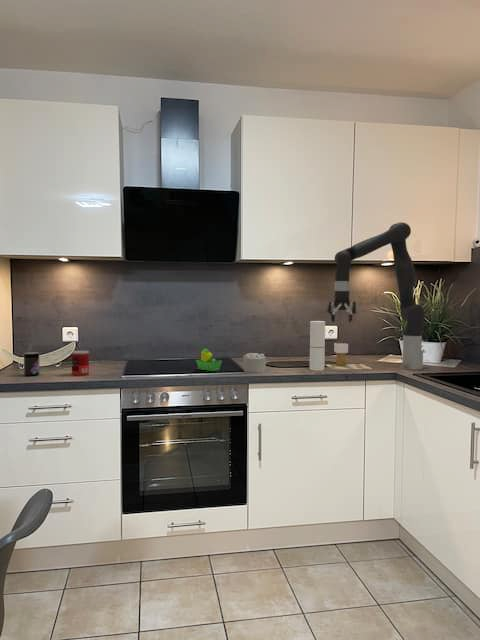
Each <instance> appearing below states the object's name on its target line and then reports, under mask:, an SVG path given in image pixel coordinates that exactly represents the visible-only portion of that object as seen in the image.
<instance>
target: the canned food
mask: <svg viewBox="0 0 480 640" xmlns="http://www.w3.org/2000/svg"><path fill="white" fill-rule="evenodd" d="M71 374H72V376H73V377H85V376H88V375H89V374H90V350H73V351H71Z"/></svg>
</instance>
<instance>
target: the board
mask: <svg viewBox="0 0 480 640" xmlns="http://www.w3.org/2000/svg"><path fill="white" fill-rule="evenodd" d="M324 366H325V367H328V368H329V369H331V370H373V368H372V367H369V366H367V365H364V364H362V363H353V364H352V363H348V364H347V363H345V366H343V367H340V366H336V363H334V364H333V363H332V364H330V363H329V364H325V363H324Z"/></svg>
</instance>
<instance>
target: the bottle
mask: <svg viewBox="0 0 480 640" xmlns="http://www.w3.org/2000/svg"><path fill="white" fill-rule="evenodd" d="M346 355H347V353H336V352H335V364H336V366H340V367H343V366H345V364H346V359H347V358H346V357H347V356H346Z"/></svg>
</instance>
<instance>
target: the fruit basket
mask: <svg viewBox="0 0 480 640" xmlns="http://www.w3.org/2000/svg"><path fill="white" fill-rule="evenodd" d="M200 353H201V355H200V356H201V358H200V359H196V360H195V362H196V364H197V368H198V370H199V369H202V370H208V371H216V370H219V371H220V369H221V365H222V362H223V360H220V359H219V360H218V359H215V358H212V357H213V353H212V352H210V351H209V350H208V349H207V348H204V349H203V348H202V351H201V352H200ZM208 371H207V372H208ZM216 372H217V371H216Z"/></svg>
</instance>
